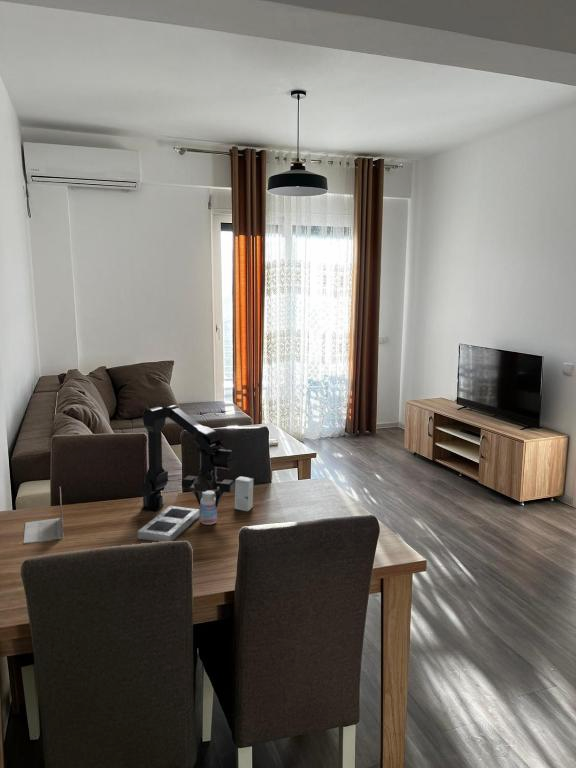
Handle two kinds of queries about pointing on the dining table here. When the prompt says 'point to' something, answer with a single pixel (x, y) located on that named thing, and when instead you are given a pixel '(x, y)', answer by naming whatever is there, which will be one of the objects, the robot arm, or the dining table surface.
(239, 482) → the skincare box
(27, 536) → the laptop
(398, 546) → the dining table surface
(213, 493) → the pill bottle
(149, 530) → the white compartment tray
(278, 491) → the dining table surface
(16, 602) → the dining table surface
